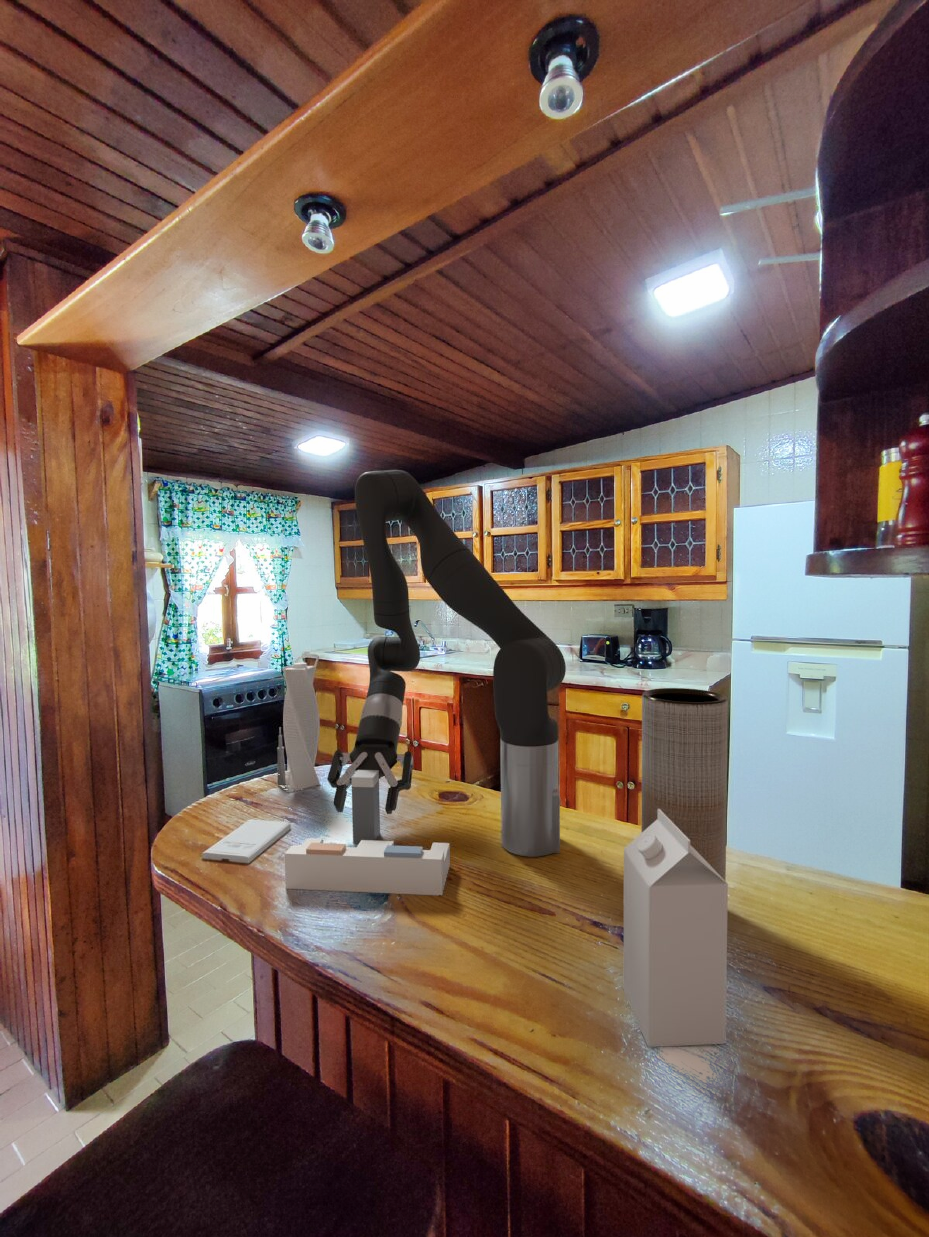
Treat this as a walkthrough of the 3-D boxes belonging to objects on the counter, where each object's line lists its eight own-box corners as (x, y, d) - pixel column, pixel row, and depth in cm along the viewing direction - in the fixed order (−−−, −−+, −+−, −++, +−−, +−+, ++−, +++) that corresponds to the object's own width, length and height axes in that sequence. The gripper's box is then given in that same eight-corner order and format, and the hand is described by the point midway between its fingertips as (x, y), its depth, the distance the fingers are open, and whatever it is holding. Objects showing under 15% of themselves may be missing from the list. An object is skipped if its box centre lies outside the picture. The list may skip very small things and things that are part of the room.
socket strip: (449, 865, 82) (449, 829, 82) (442, 895, 74) (441, 855, 74) (307, 860, 85) (306, 824, 84) (285, 888, 77) (284, 849, 76)
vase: (625, 899, 73) (625, 691, 72) (684, 883, 77) (685, 685, 75) (679, 943, 64) (681, 705, 62) (743, 923, 67) (746, 698, 66)
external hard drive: (291, 831, 96) (248, 866, 84) (249, 827, 98) (201, 861, 86) (290, 822, 96) (248, 855, 84) (248, 818, 98) (201, 851, 86)
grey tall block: (380, 834, 94) (378, 770, 93) (374, 843, 90) (373, 777, 89) (359, 833, 94) (358, 769, 93) (353, 843, 90) (351, 777, 90)
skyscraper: (313, 776, 124) (309, 652, 122) (329, 786, 118) (325, 655, 116) (275, 785, 118) (271, 655, 117) (290, 796, 112) (286, 659, 111)
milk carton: (691, 988, 57) (693, 807, 56) (726, 1046, 50) (729, 839, 49) (622, 991, 56) (623, 809, 55) (648, 1049, 49) (649, 842, 48)
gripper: (337, 713, 99) (315, 800, 88) (415, 714, 98) (402, 803, 87) (347, 734, 105) (327, 819, 94) (421, 735, 103) (410, 821, 92)
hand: (363, 811), depth 90 cm, fingers open, 8 cm apart
